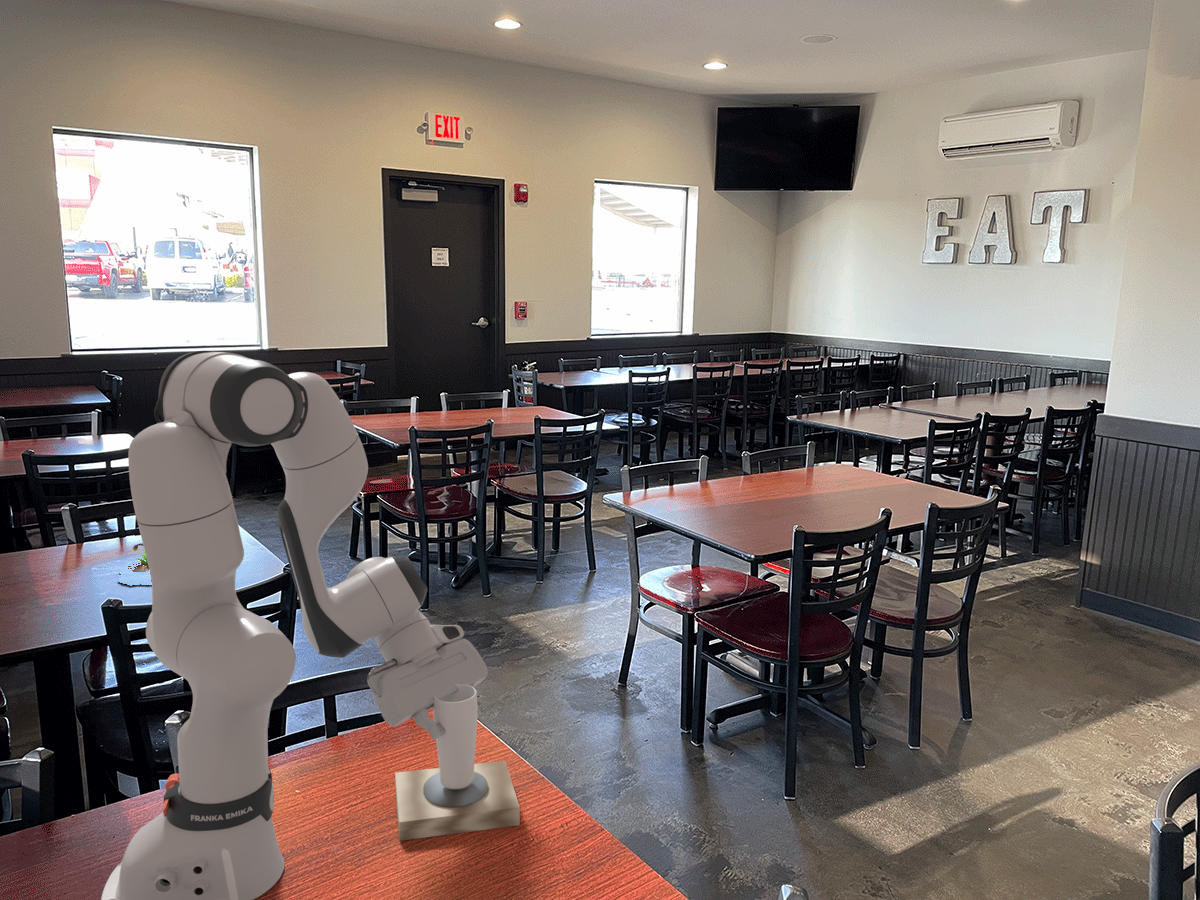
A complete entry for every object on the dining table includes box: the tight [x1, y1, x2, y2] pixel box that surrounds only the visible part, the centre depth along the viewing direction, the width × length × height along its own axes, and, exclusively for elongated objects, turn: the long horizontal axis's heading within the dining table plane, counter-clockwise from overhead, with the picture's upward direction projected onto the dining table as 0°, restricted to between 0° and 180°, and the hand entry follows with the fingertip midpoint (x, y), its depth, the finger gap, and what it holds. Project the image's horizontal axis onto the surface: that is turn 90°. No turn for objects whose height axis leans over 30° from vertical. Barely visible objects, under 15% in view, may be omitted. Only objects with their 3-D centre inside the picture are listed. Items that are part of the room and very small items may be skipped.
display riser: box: [394, 760, 521, 842], centre depth 139 cm, size 18×14×4 cm
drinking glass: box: [432, 684, 479, 789], centre depth 137 cm, size 7×7×15 cm
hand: (458, 726), depth 136 cm, fingers closed on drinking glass, 7 cm apart
